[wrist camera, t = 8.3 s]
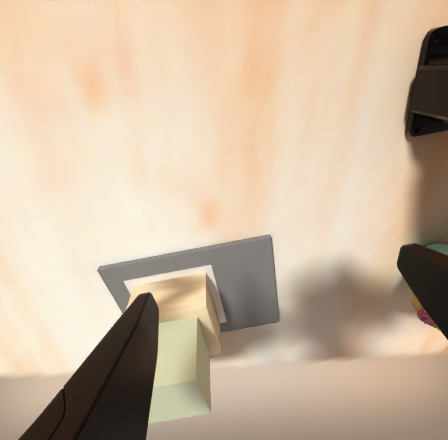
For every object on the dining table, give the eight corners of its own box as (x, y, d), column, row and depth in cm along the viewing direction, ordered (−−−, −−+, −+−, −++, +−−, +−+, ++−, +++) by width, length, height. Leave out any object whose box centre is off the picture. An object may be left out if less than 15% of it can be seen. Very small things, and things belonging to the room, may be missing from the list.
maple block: (205, 272, 24) (206, 306, 20) (219, 319, 27) (221, 354, 24) (133, 285, 24) (122, 321, 21) (156, 330, 28) (150, 367, 24)
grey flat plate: (269, 234, 23) (271, 238, 22) (278, 318, 29) (279, 322, 29) (99, 266, 23) (96, 271, 23) (143, 342, 30) (142, 347, 29)
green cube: (197, 316, 21) (195, 380, 17) (209, 350, 24) (210, 413, 19) (138, 326, 21) (122, 392, 17) (157, 359, 24) (147, 423, 19)
